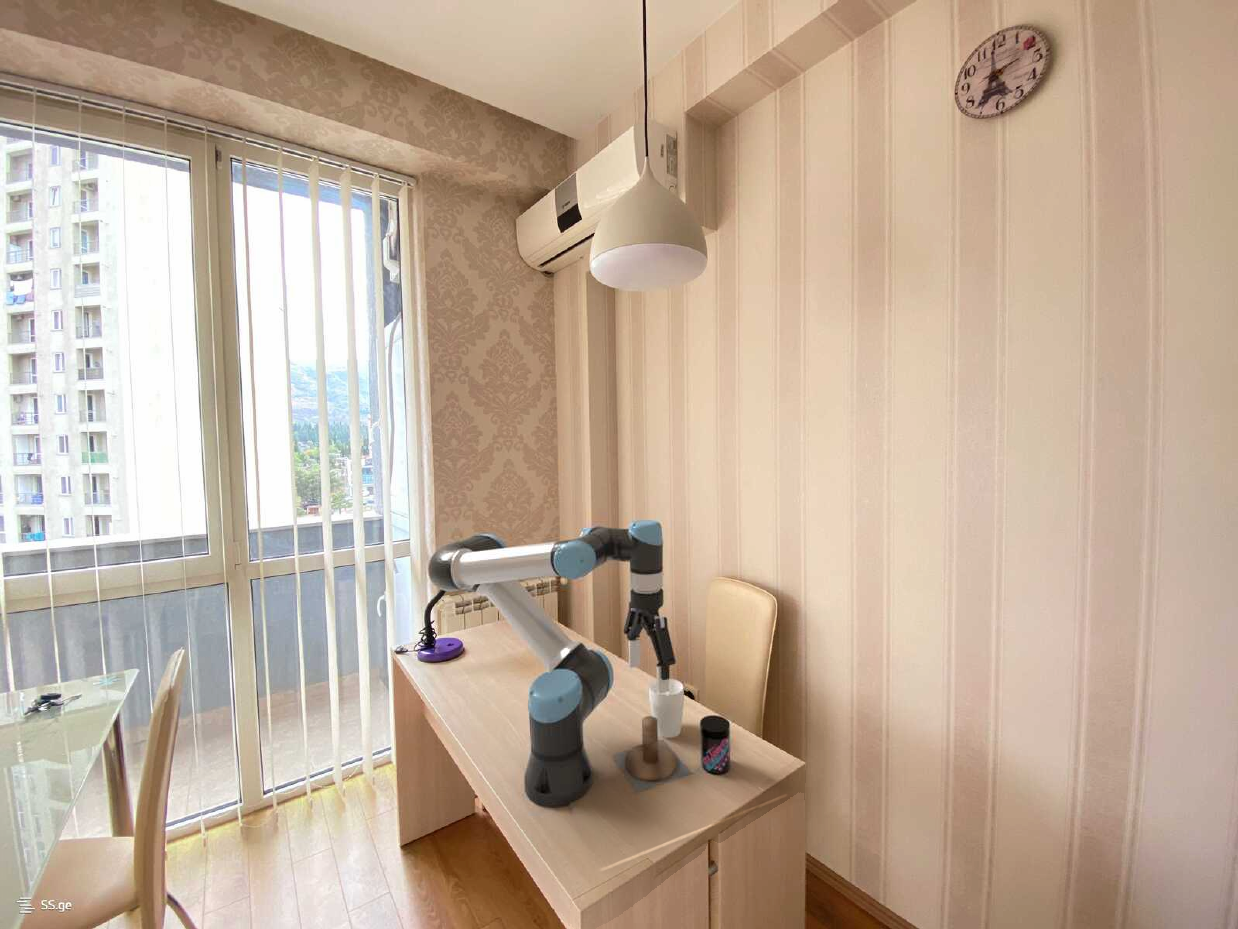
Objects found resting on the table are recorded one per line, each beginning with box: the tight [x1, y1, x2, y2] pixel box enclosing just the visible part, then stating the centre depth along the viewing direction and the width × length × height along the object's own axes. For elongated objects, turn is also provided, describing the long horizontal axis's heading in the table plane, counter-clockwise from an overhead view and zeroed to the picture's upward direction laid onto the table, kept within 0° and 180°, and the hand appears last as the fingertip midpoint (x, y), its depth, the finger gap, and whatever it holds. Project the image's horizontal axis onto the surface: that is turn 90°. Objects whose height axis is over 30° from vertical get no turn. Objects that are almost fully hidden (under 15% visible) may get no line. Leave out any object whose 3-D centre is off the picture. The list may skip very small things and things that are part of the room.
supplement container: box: [699, 714, 731, 776], centre depth 116 cm, size 7×7×10 cm
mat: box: [611, 739, 693, 794], centre depth 118 cm, size 14×14×1 cm
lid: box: [625, 715, 677, 782], centre depth 117 cm, size 12×12×10 cm
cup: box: [648, 678, 685, 739], centre depth 131 cm, size 9×9×12 cm
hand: (648, 678), depth 117 cm, fingers open, 13 cm apart
